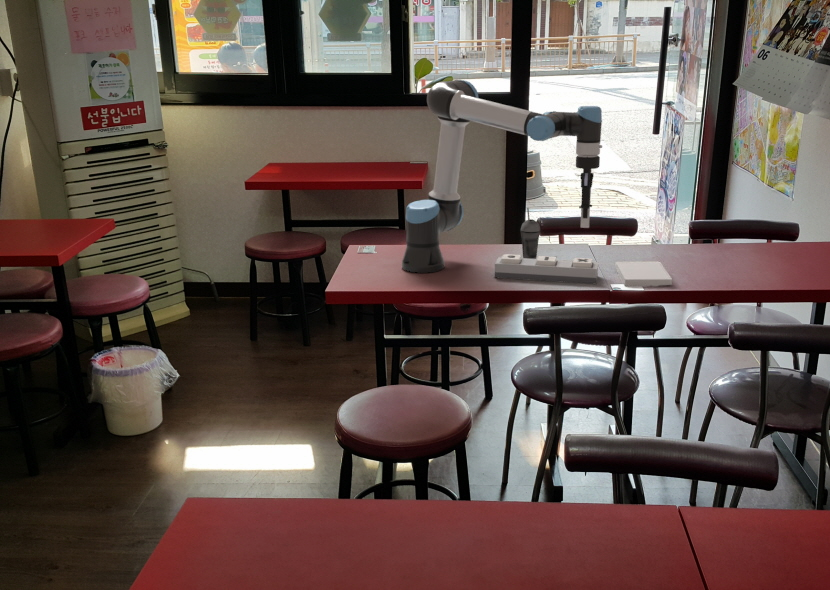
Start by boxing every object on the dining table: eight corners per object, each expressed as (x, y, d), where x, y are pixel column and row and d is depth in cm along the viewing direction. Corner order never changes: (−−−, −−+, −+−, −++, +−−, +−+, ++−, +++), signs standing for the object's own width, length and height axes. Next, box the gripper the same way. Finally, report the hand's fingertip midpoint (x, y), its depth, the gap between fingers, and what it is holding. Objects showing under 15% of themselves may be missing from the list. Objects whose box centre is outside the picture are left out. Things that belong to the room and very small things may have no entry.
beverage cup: (540, 264, 292) (542, 209, 286) (520, 264, 292) (522, 209, 286) (538, 258, 299) (540, 205, 293) (518, 259, 299) (519, 205, 293)
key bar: (536, 267, 273) (536, 260, 272) (538, 262, 278) (538, 255, 277) (554, 268, 271) (554, 261, 270) (556, 263, 277) (556, 256, 276)
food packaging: (671, 289, 264) (658, 270, 282) (672, 279, 262) (659, 261, 281) (624, 289, 265) (615, 270, 284) (625, 279, 264) (615, 261, 283)
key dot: (501, 265, 276) (501, 258, 275) (503, 261, 281) (504, 253, 280) (518, 266, 274) (518, 259, 273) (521, 262, 280) (521, 254, 279)
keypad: (494, 277, 276) (494, 263, 274) (498, 270, 284) (498, 256, 283) (596, 283, 268) (597, 269, 266) (597, 276, 276) (598, 262, 274)
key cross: (572, 269, 270) (572, 262, 269) (573, 264, 275) (574, 257, 274) (590, 270, 268) (591, 262, 267) (592, 265, 274) (592, 258, 273)
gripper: (598, 158, 253) (595, 232, 261) (600, 152, 265) (597, 223, 273) (574, 157, 255) (571, 231, 262) (577, 152, 267) (574, 222, 274)
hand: (584, 227), depth 267 cm, fingers closed
